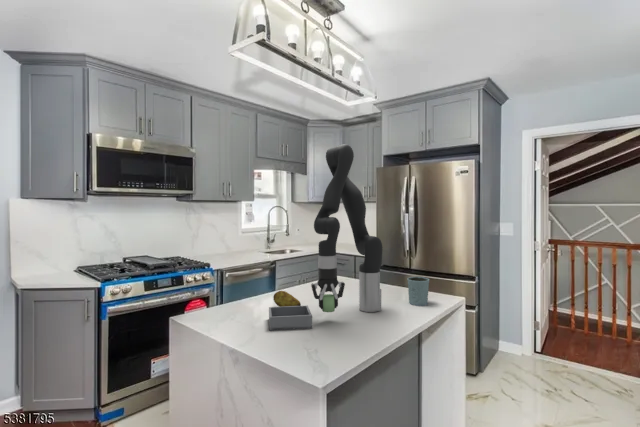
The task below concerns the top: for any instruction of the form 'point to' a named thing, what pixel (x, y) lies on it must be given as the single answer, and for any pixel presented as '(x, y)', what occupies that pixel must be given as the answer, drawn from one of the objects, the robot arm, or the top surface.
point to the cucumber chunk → (328, 303)
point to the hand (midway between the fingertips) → (328, 308)
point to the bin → (290, 318)
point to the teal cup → (418, 290)
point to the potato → (285, 299)
